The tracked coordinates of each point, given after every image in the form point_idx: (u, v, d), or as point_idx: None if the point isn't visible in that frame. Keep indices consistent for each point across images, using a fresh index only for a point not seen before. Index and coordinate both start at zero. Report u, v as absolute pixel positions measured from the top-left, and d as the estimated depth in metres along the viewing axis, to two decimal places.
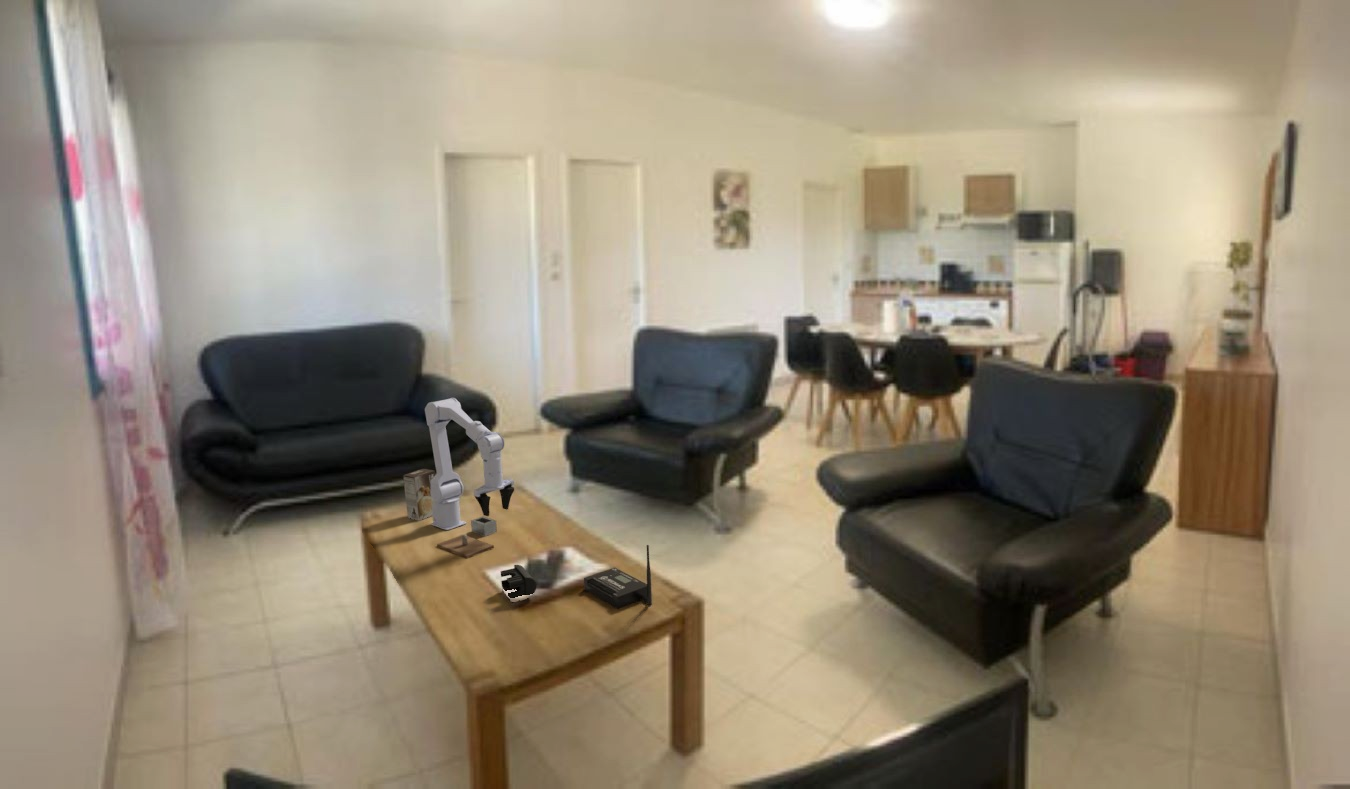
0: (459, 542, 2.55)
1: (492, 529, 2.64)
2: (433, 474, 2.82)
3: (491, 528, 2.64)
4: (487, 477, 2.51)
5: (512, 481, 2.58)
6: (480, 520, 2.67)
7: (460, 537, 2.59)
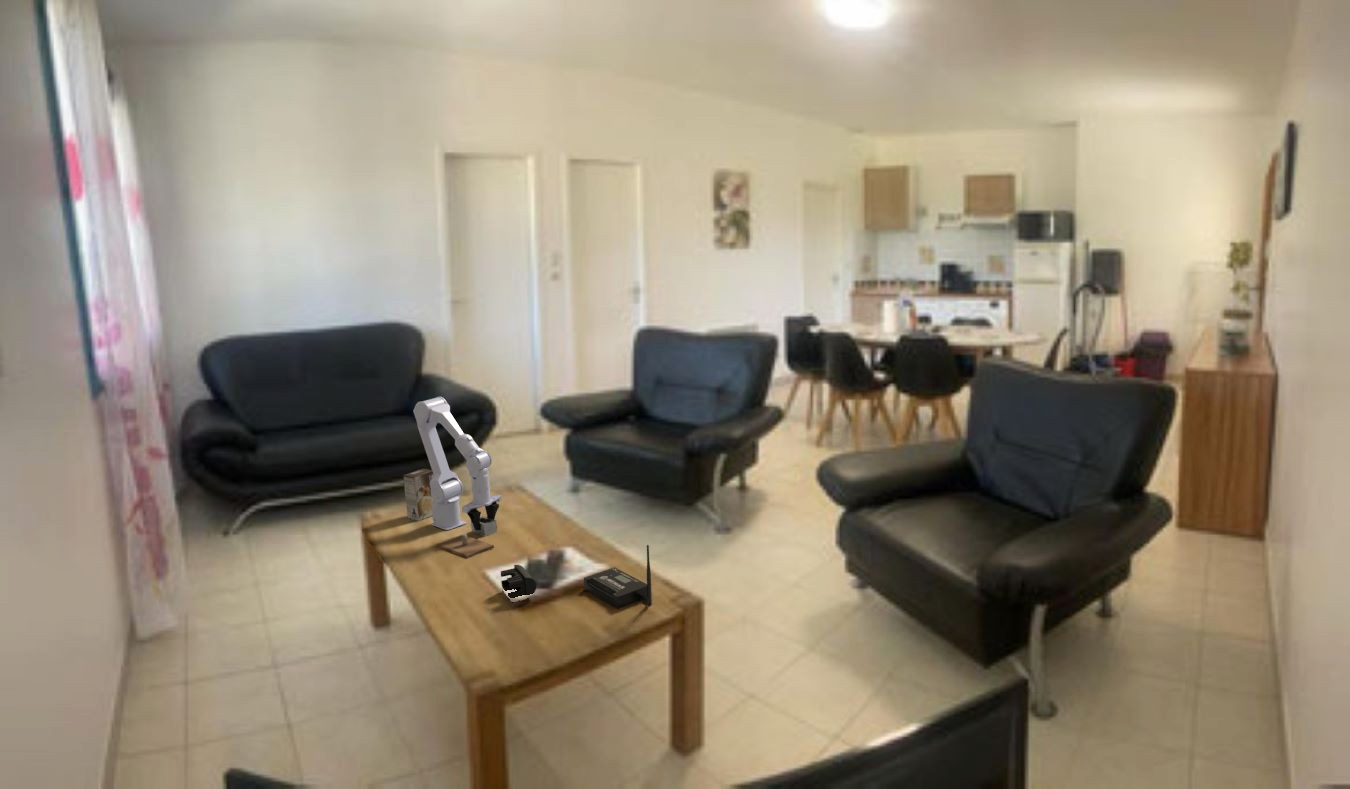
0: (459, 542, 2.55)
1: (492, 529, 2.64)
2: (433, 474, 2.82)
3: (491, 528, 2.64)
4: (475, 494, 2.61)
5: (499, 497, 2.68)
6: (480, 520, 2.67)
7: (460, 537, 2.59)
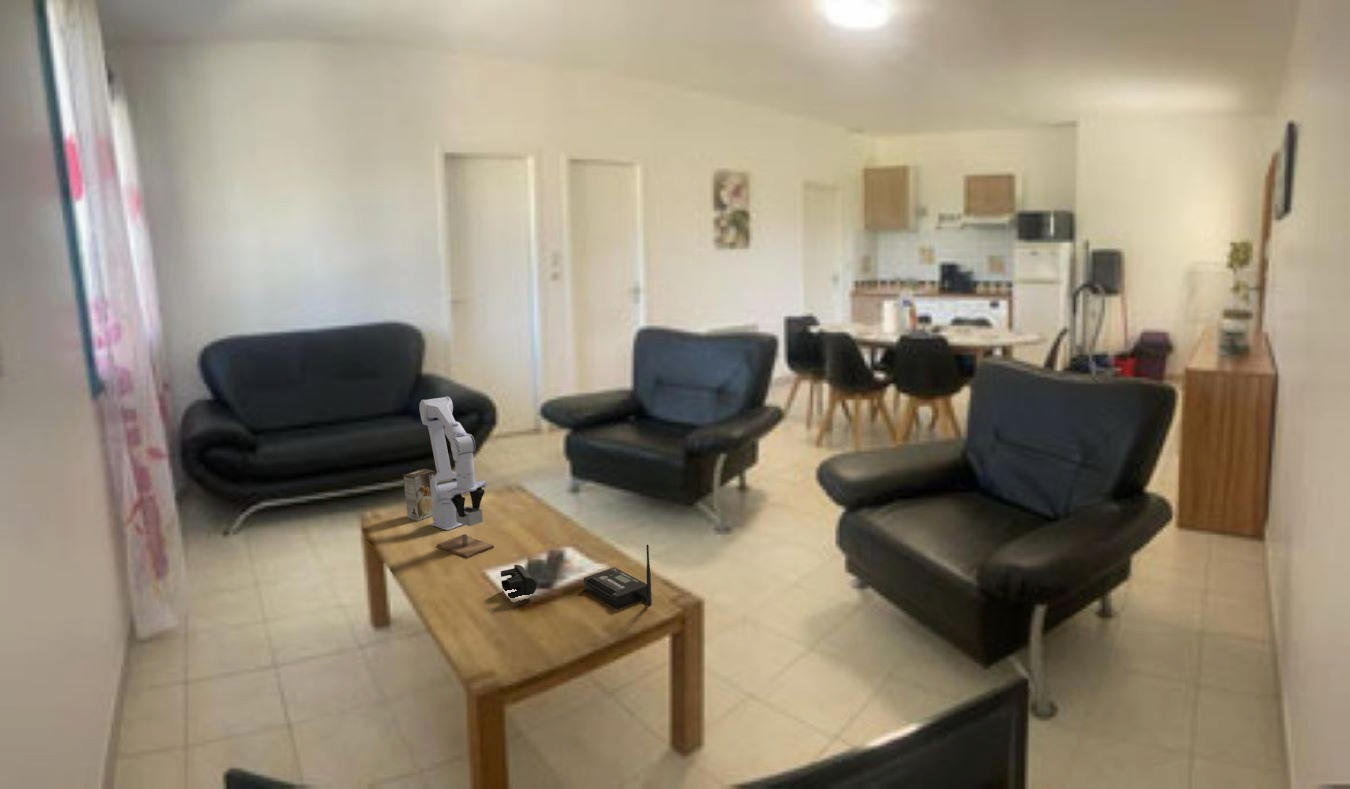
0: (459, 542, 2.55)
1: (478, 519, 2.54)
2: (433, 474, 2.82)
3: (477, 518, 2.53)
4: (459, 479, 2.50)
5: (485, 483, 2.58)
6: (465, 510, 2.57)
7: (460, 537, 2.59)
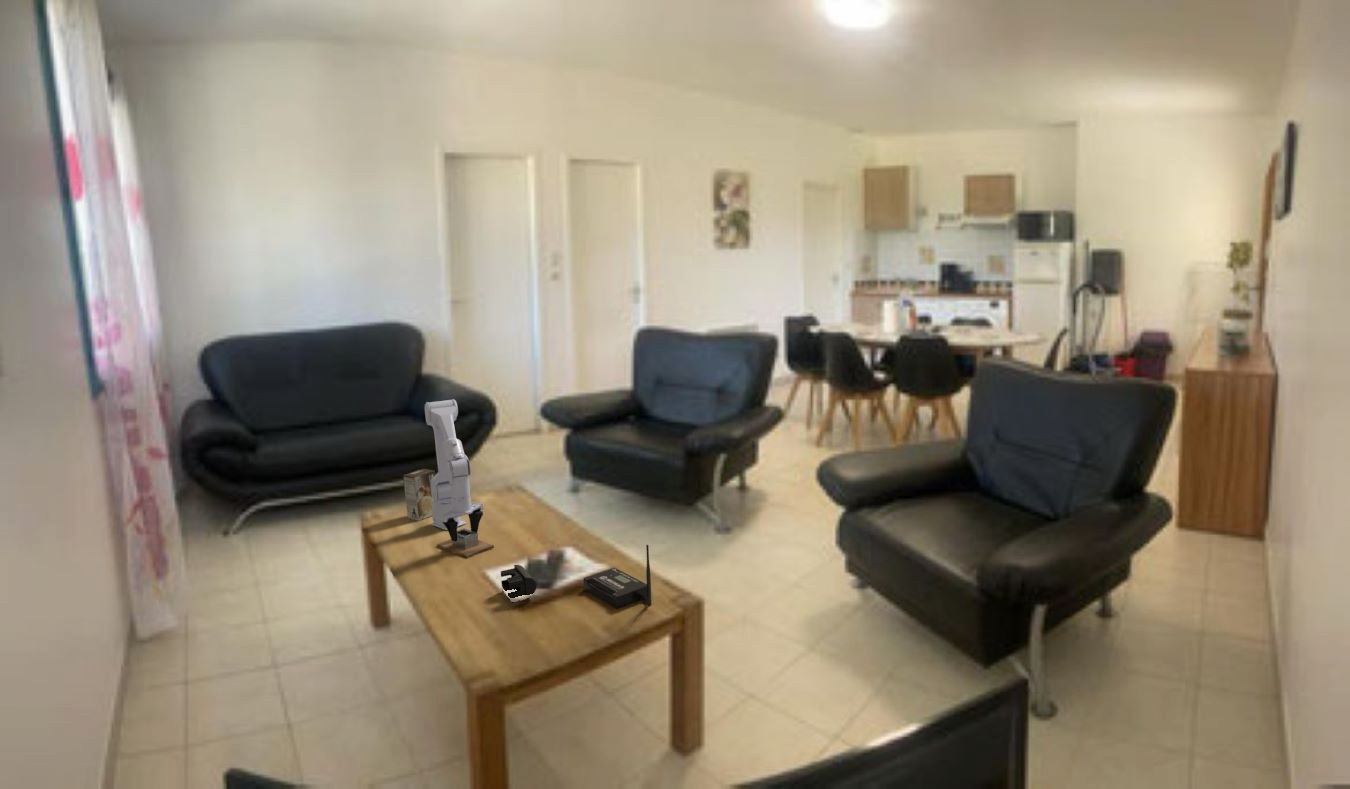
0: None
1: (473, 542, 2.51)
2: (433, 474, 2.82)
3: (472, 541, 2.51)
4: (455, 502, 2.48)
5: (481, 505, 2.55)
6: (461, 532, 2.54)
7: None
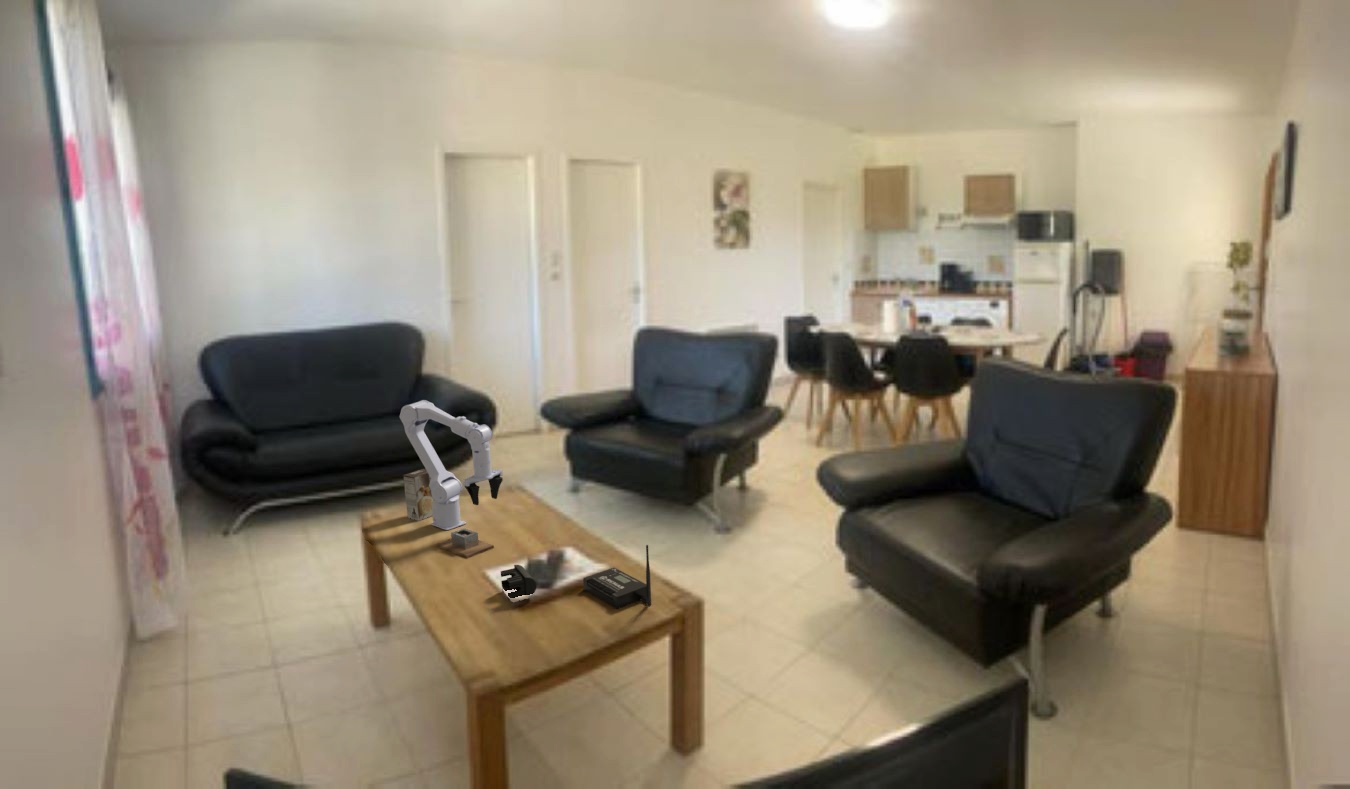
0: None
1: (473, 542, 2.51)
2: None
3: (472, 541, 2.51)
4: (476, 467, 2.61)
5: (500, 471, 2.69)
6: (461, 532, 2.54)
7: None
